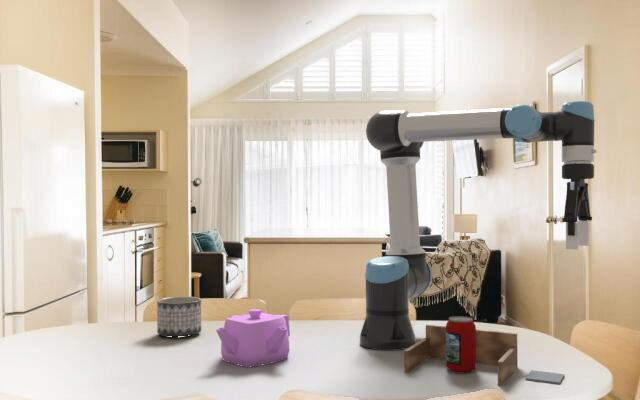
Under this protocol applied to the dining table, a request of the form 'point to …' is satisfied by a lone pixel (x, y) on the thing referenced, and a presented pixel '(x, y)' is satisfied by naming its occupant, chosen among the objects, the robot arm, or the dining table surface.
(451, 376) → the dining table surface
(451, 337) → the beverage can
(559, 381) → the mat
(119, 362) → the dining table surface
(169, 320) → the planter
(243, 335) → the teakettle
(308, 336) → the dining table surface
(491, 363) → the partition
